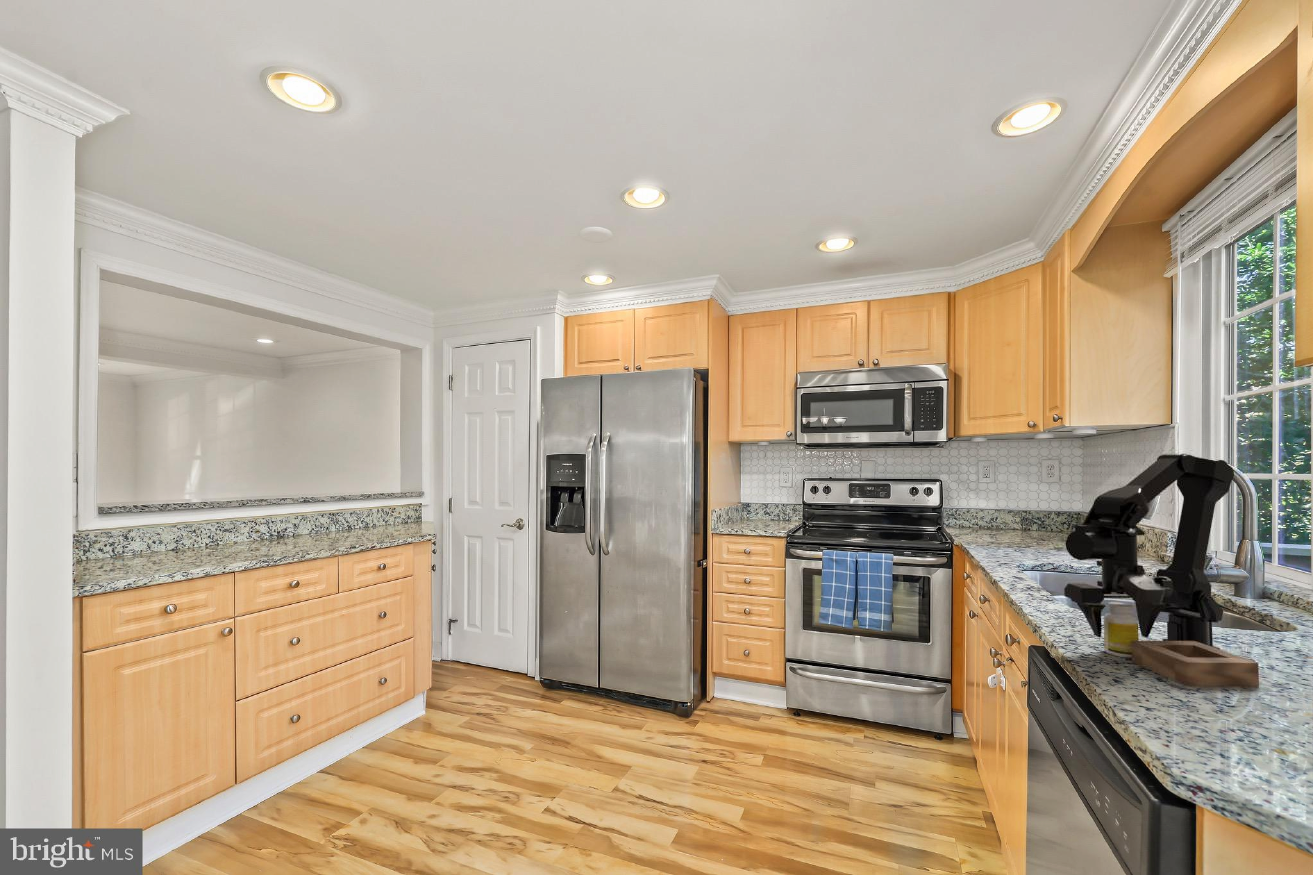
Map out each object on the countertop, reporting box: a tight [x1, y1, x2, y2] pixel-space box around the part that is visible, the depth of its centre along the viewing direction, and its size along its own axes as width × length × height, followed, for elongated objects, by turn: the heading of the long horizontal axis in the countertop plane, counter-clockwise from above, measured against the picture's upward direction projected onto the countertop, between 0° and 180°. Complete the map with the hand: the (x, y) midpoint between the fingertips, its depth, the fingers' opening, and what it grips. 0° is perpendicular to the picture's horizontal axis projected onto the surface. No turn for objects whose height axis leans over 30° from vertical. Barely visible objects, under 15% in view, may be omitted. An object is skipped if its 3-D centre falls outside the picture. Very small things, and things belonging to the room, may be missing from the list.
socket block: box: [1131, 640, 1260, 688], centre depth 106 cm, size 12×12×4 cm
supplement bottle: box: [1103, 601, 1140, 659], centre depth 117 cm, size 5×5×10 cm
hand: (1121, 636), depth 117 cm, fingers open, 9 cm apart
